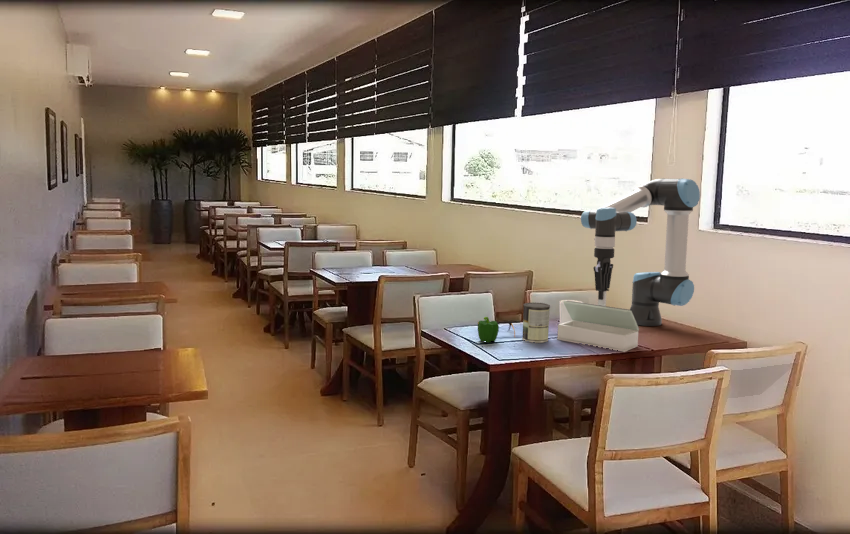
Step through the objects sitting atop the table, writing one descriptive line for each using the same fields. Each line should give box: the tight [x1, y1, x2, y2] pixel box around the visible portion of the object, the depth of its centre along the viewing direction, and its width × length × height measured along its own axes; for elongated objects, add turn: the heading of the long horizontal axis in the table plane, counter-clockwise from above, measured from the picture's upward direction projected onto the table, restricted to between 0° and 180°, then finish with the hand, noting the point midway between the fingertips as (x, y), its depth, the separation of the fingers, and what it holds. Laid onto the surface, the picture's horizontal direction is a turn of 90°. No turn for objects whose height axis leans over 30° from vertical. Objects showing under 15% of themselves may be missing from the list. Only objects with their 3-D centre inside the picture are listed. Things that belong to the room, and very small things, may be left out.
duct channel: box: [556, 320, 639, 353], centre depth 267 cm, size 12×28×6 cm, turn 50°
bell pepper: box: [477, 316, 500, 343], centre depth 265 cm, size 8×8×10 cm
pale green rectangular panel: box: [563, 301, 640, 332], centre depth 268 cm, size 12×28×1 cm
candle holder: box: [559, 299, 584, 324], centre depth 290 cm, size 10×10×12 cm
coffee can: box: [522, 302, 551, 344], centre depth 269 cm, size 10×10×14 cm
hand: (601, 307), depth 268 cm, fingers closed
